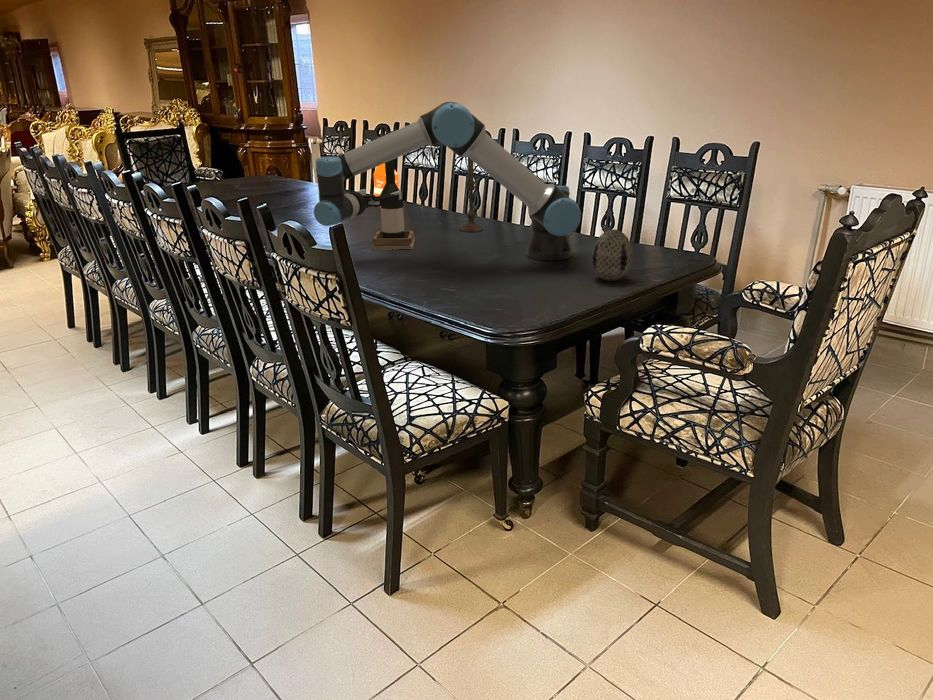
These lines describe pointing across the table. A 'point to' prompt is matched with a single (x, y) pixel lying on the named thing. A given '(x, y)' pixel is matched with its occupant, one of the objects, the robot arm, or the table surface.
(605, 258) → the decorative egg
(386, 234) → the wine bottle
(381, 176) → the orange juice
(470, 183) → the candlestick holder
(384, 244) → the wooden crate
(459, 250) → the table surface
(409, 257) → the table surface
